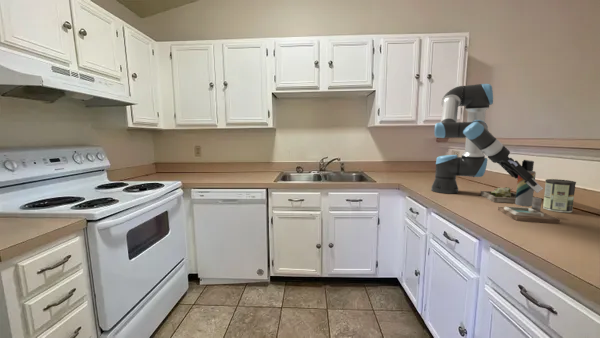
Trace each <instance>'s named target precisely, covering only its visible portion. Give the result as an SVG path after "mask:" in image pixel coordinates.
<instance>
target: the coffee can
mask: <svg viewBox="0 0 600 338" xmlns="http://www.w3.org/2000/svg"><path fill="white" fill-rule="evenodd" d="M576 184H577V181H575V180H574V181H573V180H568V179H567V180H565V179H558V178H555V179H553V178H551V179H548V178H547V179H545V186H544V195H543V202H542V203H543V204H542V205H543V206H542V209H544V210H547V211H549V212H550V211H551V212H556V213H565V214H566V213H567V214H568V213H573V207H574V200H575V193H576V192H575V190H576Z"/></svg>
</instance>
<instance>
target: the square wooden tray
mask: <svg viewBox="0 0 600 338" xmlns="http://www.w3.org/2000/svg"><path fill="white" fill-rule="evenodd" d="M492 191H493V190H491V191H487V190H486V191H485V190H480V196H481V197H482V198H485V199H487V200H489V201H491V202H492V203H501V204H502V203H503V204H504V203H506V204H515V201H516V192H514V191H510V192H511V197H510V198H505V197H495V196H493V195H491V192H492Z"/></svg>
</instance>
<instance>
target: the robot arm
mask: <svg viewBox="0 0 600 338" xmlns="http://www.w3.org/2000/svg"><path fill="white" fill-rule="evenodd" d="M491 105H494V91H493V86H492V85H491V84H490V83H478V84H477V83H476V84H470V85H459V86H456V87H453V88H451V89H450V90H449V91H447V92H446V93H445V94H444V95H443V97H442V100H441V106H442V110H441V115H440V122H436V123H435V124H434V138H438V139H439V138H441V139H449V138H452V139H453V138H454V139H455V138H458V139H459V138H464V139H465V145H464V147H465V148H464V152H463V153H462V154H461V157H459V156H458V154H447V155H439V156H437V157H436V159H435V160H436V162H435V174H434V175H435V176H434V180H433V182H432V185H431V191H432V192H433V193H434V192H435V193H439V194H458V193H459V187H458V183H457V177H469V178H470V177H471V178H472V177H473V178H481V177H483V176H484V175H485V173H486V169H487V164H488V159H489V160H490V161H491V162H493V163H494V164H495V163H496V164H498V165H499V166H501V168H503V170H504V171H506V173H508V175H509V176H510V177H512V178H514V179H516V180H517V181H518V175H519V176H520V177H521V178H523V179H524V180H525V181H524V183H527V184H528V185H529V186H530V187H531V188H532V189H533V190H534V192H535V193H537V194H538V193H541V191H542V190H544V187H542V186H541V185H540V184H539V183H538V182H537V181H536V179H535V180H534V179H533V178H534V177H533V176H532V175H531V174H530V173H529V172H528V171H527V170H526V169H525V168H523V167H522V164H521V163H519V161H518V160H514V159H513V158H512V157H509V156H510V153H511V152H510V150H509V149H508V148H507V147H506V146H504V145H503V144H504V143H502V142H501V141H500V140H499V139H498V138H496V137H495V136H494V135H493V134H492V133H491V132H490V131H489V127H488V125H487V123H486V111H488V110H489V109H490V106H491ZM459 107H465V108H464V109H465V111H466V112H467V120H466V121H464V122H463V121H458V113H459V111H458V110H459Z"/></svg>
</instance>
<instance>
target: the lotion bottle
mask: <svg viewBox="0 0 600 338" xmlns="http://www.w3.org/2000/svg"><path fill="white" fill-rule="evenodd" d="M534 163H535V162H534V161H533V160H530V159H529V160H528V159H523V160H522V163H521V166H522V167H523V168H525V169H526V170H527V171H528V172H529V173H530V174H531V175H532V176H533V177H534V178H533V179H534V180H535V181H536V173H537V172H536V171H534ZM524 181H525V180H524V179H523V178H521V177H520V176H519V175H518V180H517V181H516V182H517V183H516V192H515V193H516V201H515V203H514V205H517V206H520V207H526V208H530V207H532V202H533V197H534V192H535V191H534V190H533V189H532V188H531V187H530V186H529V185H528V184H527V183H524Z"/></svg>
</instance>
